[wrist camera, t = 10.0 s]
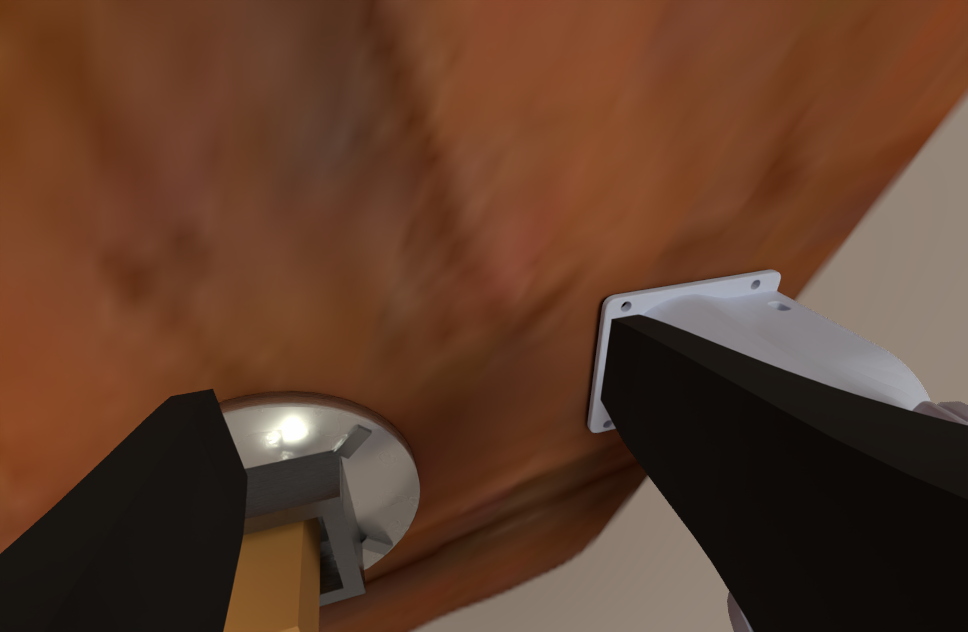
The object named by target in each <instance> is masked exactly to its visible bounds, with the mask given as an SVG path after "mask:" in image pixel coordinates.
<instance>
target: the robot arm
mask: <svg viewBox="0 0 968 632" xmlns="http://www.w3.org/2000/svg"><path fill="white" fill-rule="evenodd" d="M780 278H781V276H780V273H778V272H776V271H774V270H764V271H758V272H752V273H745V274H739V275H733V276H727V277H721V278H715V279H708V280H702V281H696V282H690V283H684V284H678V285H671V286H665V287H659V288H653V289H647V290H641V291H635V292H628V293H622V294H616V295H612V296H609V297H608V298H607V299H606V300H605V301H604V302H603V305H602V312H601V320H600V328H599V336H598V343H597V351H596V359H595V367H594V375H593V383H592V391H591V399H590V407H589V415H588V423H587V425H588V428H589V429H590V430H591V432H593V433H599V432H603V431H607V430H612V429H617V431H618V433H619V435H620V436H621V438H622V440H623V442H624V443H625V444H626V446H627V447H628V449H629V450H630V451H631V453H632V454H633V456H634V457H635V458H636V460H637V461H638V462H639V464H640V465H641V466H642V468H643V469H644V470H645V472H646V473H647V475H648V476H649V477H650V479H651V480H652V481H653V483H654V484H655V485H656V487H657V488H658V489H659V491H660V492H661V493H662V495H663V496H664V497H665V499H666V500H667V501H668V503H669V504H670V505H671V506H672V508H673V509H674V511H675V512H676V513H677V515H678V516H679V517H680V519H681V520H682V521H683V523H684V524H685V525H686V527H687V528H688V529H689V531H690V532H691V533H692V535H693V536H694V537H695V539H696V540H697V541H698V543H699V544H700V546H701V547H702V549H703V550H704V552H705V553H706V555H707V556H708V558H709V559H710V560H711V562H712V563H713V565H714V566H715V568H716V570H717V572H718V573H719V575H720V576H721V578H722V579H723V581H724V583H725V585H726V586H727V588H728V589H729V591H730V592H729V594H728V600H727V603H728V612H729V616H730V620H731V624H732V626H733V630H734V632H968V405H967V404H965V403H962V402H940V403H938V404H937V405H936V404H934V403H932V402H931V401H930V399H929V396H928V395H927V393H926V391H925V389H924V388H923V386H922V384H921V383H920V382H919V380H918V379H917V377H916V376H915V375H914V373H913V372H912V371H911V370H910V369H909V368H908V367H907V366H906V365H905V364H904V363H903V362H902V361H901V360H899V359H898V358H897V357H896V356H894V355H893V354H892V353H890V352H888V351H887V350H885V349H884V348H882V347H880V346H878V345H876V344H874V343H872V342H871V341H869V340H867V339H865V338H863V337H861V336H859V335H858V334H856V333H854V332H852V331H850V330H848V329H846V328H845V327H843V326H841V325H839V324H837V323H835V322H833V321H831V320H830V319H828V318H826V317H824V316H822V315H820V314H818V313H816V312H815V311H812V310H811V309H809V308H807V307H805V306H803V305H802V304H800V303H798V302H796V301H794V300H792V299H790V298H788V297H787V296H785V295H783V294H781V293H779V292H777V288H778V285H779V282H780ZM624 302H627V303H626V305H625V306H624V307H622V308H621V306H622V304H623V303H624ZM247 482H248V476H247V473H246V471H245V468H244V466H243V463H242V461H241V458H240V456H239V453H238V451H237V448H236V446H235V443H234V441H233V438H232V436H231V433H230V431H229V428H228V426H227V423H226V421H225V418H224V416H223V413H222V411H221V408H220V406H219V403H218V401H217V398H216V396H215V393H214V391H213V389H210V390H204V391H198V392H193V393H187V394H181V395H175V396H171V397H170V398H168V399H167V400H166V401H165V402H164V403H163V404H161V405H160V406H159V407H158V408H157V409H156V410H155V411H154V412H153V413H151V414H150V415H149V416H148V417H147V418H146V419H145V420H144V421H143V422H142V423H141V424H140V425H139V426H138V427H137V428H136V429H135V430H134V431H133V432H132V433H131V434H129V435H128V436H127V437H126V438H125V439H124V440H123V441H122V442H121V443H120V444H119V445H118V446H117V447H116V448H115V449H114V450H113V451H112V452H111V453H110V454H109V455H108V456H107V457H106V458H105V459H103V460H102V461H101V462H100V463H99V464H98V465H97V466H96V467H95V468H94V469H93V470H92V471H91V472H90V473H89V474H88V475H87V476H86V477H85V478H83V479H82V480H81V481H80V482H79V483H78V484H77V485H76V486H75V487H74V488H73V489H72V490H71V491H70V492H69V493H68V494H67V495H66V496H64V497H63V498H62V499H61V500H60V501H59V502H58V503H57V504H56V505H55V506H54V507H53V508H52V509H51V510H49V511H48V512H47V513H46V514H45V515H44V516H43V517H42V518H40V519H39V520H38V521H37V522H36V523H35V524H34V525H32V526H31V527H30V528H29V529H28V530H27V531H26V532H25V533H23V534H22V535H21V536H20V537H19V538H18V539H17V540H16V541H14V542H13V543H12V544H11V545H10V546H9V547H8V548H7V549H5V550H4V551H3V552H2V553H1V554H0V632H223V631H224V627H225V622H226V617H227V612H228V608H229V603H230V598H231V594H232V589H233V584H234V579H235V575H236V570H237V565H238V560H239V555H240V550H241V545H242V540H243V534H244V523H245V512H246V498H247Z"/></svg>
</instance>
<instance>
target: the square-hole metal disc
mask: <svg viewBox="0 0 968 632" xmlns="http://www.w3.org/2000/svg"><path fill="white" fill-rule="evenodd" d="M219 406H220V408H221V411H222V413H223V416H224V418H225V421H226V423H227V426H228V428H229V431H230V433H231V436H232V438H233V441H234V443H235V446H236V448H237V451H238V453H239V456H240V458H241V461H242V463H243V466H244V468H245V471H246V473H247V476H248V482H247V498H246V512H245V523H244V534H243V535H247V534H251V533H255V532H259V531H263V530H267V529H271V528H275V527H279V526H283V525H287V524H291V523H295V522H299V521H303V520H307V519H311V518H316V517H318V520H319V523H320V527H321V538H320V595H319V606H323V605H326V604H330V603H333V602H337V601H340V600H344V599H347V598H350V597H354V596H357V595H361V594H364V593H366V591H365V576H364V570H365V569H367V568H369V567H370V566H372V565H373V564H374V563H376V562H377V561H378V560H380V559H381V558H382V557H384V556H385V555H386V554H387V553H388V552H389V551H390V550H391V549H392V548H393V547H394V546H395V545H396V544H397V543H398V542H399V541H400V540H401V538H402V537H403V536H404V534H405V533H406V531H407V530H408V528H409V527H410V525H411V523H412V521H413V519H414V517H415V514H416V511H417V508H418V504H419V497H420V483H419V478H418V473H417V468H416V464H415V460H414V455H413V453H412V451H411V449H410V446H409V444H408V443H407V441H406V440H405V438H404V437H403V435H402V434H401V433H400V432H399V431H398V430H397V429H396V428H395V427H394V426H393V425H392V424H391V423H390V422H389V421H387V420H386V419H385V418H383V417H382V416H381V415H379V414H377V413H376V412H374V411H372V410H370V409H368V408H367V407H364V406H362V405H359V404H357V403H354V402H352V401H349V400H346V399H342V398H338V397H335V396H330V395H324V394H318V393H310V392H294V391H289V392H268V393H261V394H253V395H247V396H243V397H239V398H234V399H230V400H227V401H224V402H221V403H219Z"/></svg>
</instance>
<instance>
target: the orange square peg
mask: <svg viewBox="0 0 968 632" xmlns="http://www.w3.org/2000/svg"><path fill="white" fill-rule="evenodd" d="M320 538H321V527H320V523H319V520H318V517H316V518H311V519H307V520H303V521H299V522H295V523H291V524H287V525H283V526H279V527H275V528H271V529H267V530H263V531H259V532H255V533H251V534H247V535H243V540H242V545H241V550H240V555H239V560H238V565H237V570H236V575H235V579H234V584H233V589H232V594H231V598H230V603H229V608H228V612H227V617H226V622H225V627H224V631H223V632H319V595H320Z"/></svg>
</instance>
